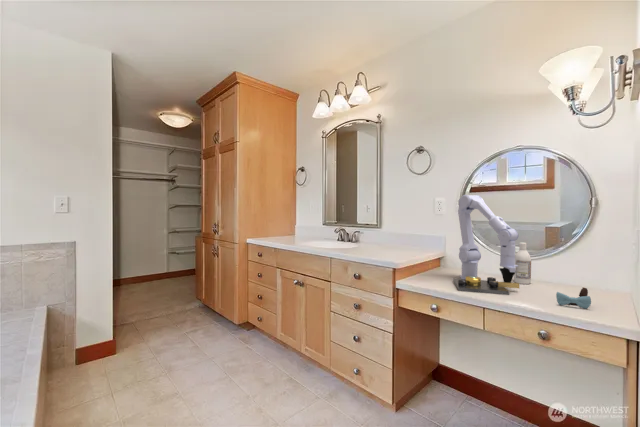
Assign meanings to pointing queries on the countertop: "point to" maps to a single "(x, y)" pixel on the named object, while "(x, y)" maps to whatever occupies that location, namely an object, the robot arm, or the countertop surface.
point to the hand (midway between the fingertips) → (507, 284)
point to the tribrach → (478, 285)
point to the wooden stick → (503, 284)
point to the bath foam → (522, 265)
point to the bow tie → (573, 300)
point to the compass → (581, 294)
